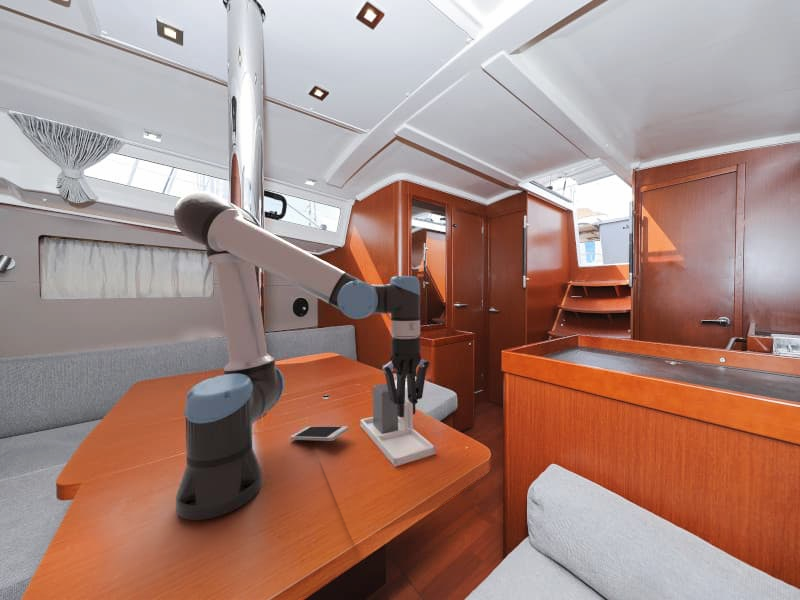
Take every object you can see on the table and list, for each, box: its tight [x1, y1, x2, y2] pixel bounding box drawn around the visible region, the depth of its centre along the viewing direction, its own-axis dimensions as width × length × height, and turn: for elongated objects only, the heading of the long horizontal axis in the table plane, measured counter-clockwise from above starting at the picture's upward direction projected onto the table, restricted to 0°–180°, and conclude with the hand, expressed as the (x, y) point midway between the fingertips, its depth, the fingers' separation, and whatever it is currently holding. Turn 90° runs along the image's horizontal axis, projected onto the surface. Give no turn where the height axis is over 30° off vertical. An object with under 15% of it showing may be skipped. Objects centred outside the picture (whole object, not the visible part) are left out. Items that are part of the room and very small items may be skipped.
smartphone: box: [289, 425, 349, 442], centre depth 79 cm, size 7×15×1 cm, turn 64°
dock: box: [359, 383, 436, 468], centre depth 80 cm, size 11×24×13 cm, turn 27°
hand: (406, 427), depth 73 cm, fingers closed
